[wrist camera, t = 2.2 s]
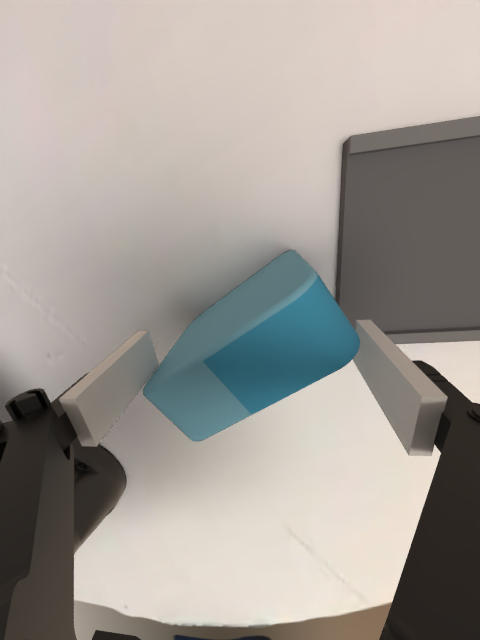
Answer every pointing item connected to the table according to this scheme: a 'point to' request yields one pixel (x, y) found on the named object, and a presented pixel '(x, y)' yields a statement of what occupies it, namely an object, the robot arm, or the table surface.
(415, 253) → the dark gray square slab
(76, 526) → the robot arm
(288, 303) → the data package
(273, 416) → the table surface
